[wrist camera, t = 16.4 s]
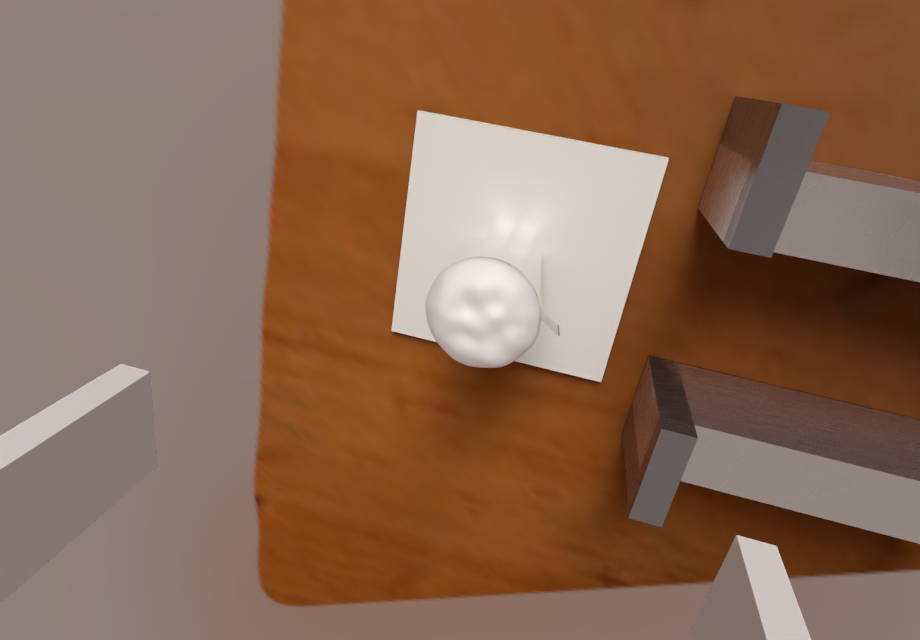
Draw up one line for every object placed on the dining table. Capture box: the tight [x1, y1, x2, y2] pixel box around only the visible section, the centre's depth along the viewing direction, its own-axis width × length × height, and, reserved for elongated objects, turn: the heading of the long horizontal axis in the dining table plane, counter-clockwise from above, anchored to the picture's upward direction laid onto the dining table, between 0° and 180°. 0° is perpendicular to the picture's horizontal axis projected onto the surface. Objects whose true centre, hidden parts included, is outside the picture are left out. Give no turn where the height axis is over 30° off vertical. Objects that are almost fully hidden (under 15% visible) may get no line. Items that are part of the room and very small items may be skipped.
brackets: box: [623, 97, 920, 544], centre depth 25 cm, size 16×18×7 cm
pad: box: [391, 110, 669, 382], centre depth 30 cm, size 12×12×1 cm
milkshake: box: [426, 226, 560, 368], centre depth 25 cm, size 4×5×10 cm
